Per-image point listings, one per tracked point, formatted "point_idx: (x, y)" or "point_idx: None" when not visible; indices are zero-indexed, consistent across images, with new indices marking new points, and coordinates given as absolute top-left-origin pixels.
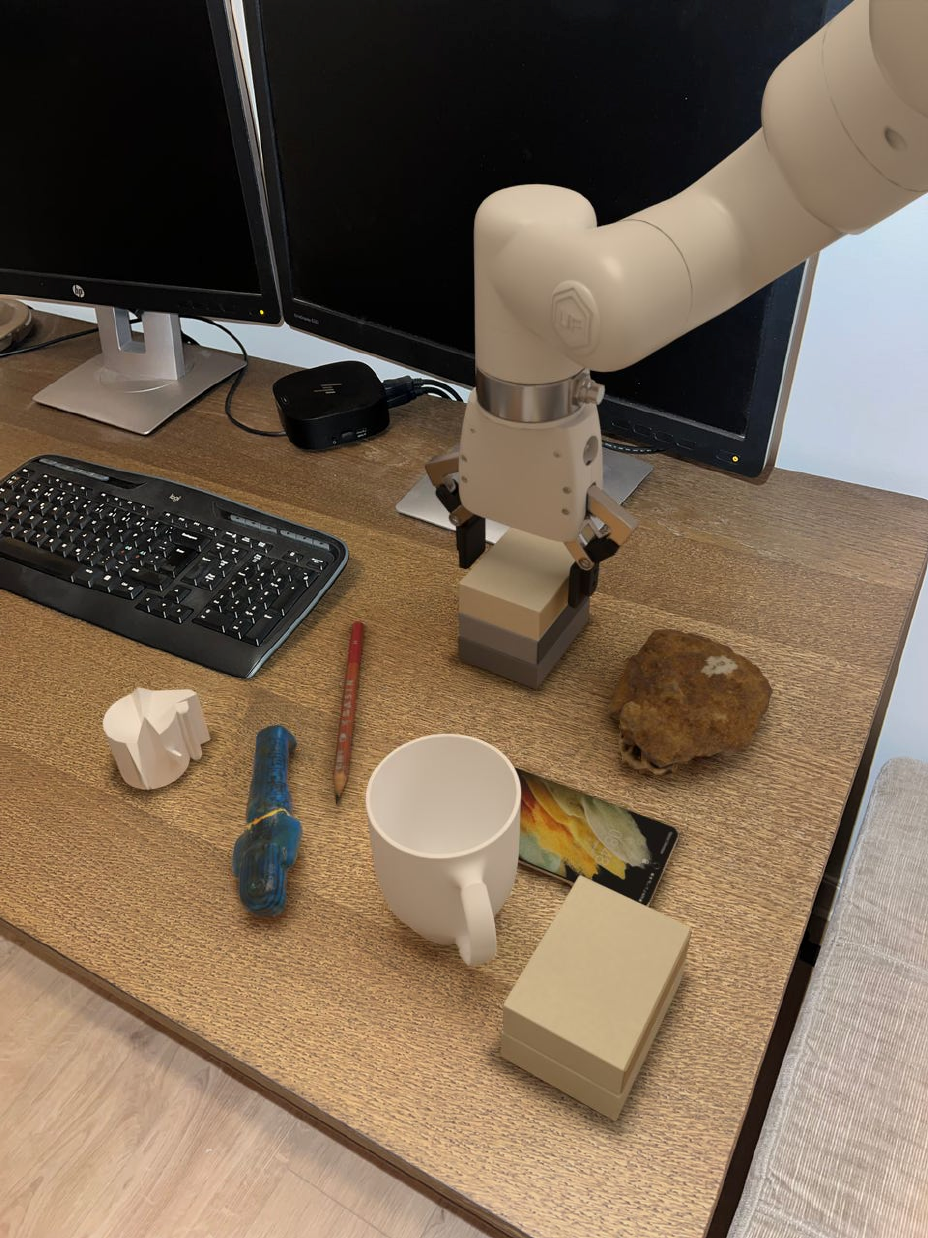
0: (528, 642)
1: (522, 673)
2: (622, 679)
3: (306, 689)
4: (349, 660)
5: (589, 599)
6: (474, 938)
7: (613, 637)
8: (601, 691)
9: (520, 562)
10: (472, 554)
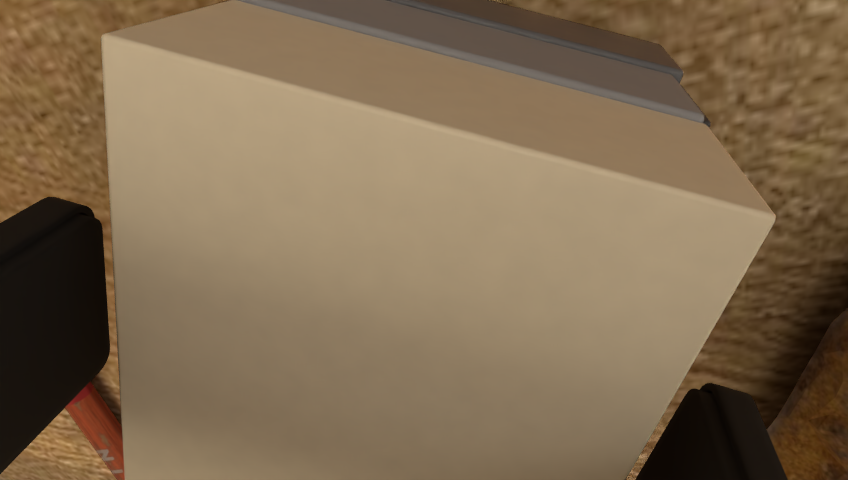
0: None
1: None
2: (809, 425)
3: (42, 431)
4: None
5: (680, 79)
6: None
7: (768, 118)
8: (719, 359)
9: (319, 428)
10: (66, 365)
